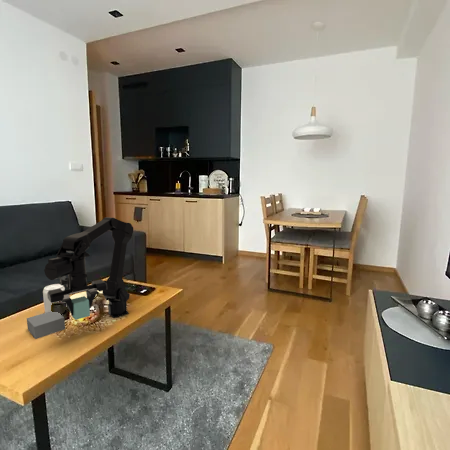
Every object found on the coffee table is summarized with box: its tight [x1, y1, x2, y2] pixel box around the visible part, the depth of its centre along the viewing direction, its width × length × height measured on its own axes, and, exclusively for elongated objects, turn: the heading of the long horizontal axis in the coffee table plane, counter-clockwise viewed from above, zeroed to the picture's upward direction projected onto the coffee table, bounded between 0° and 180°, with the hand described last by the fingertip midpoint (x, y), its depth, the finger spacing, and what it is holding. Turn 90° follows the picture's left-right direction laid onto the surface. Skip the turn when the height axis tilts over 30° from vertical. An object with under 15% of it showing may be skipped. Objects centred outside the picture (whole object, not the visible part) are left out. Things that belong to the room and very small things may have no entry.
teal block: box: [70, 296, 91, 321], centre depth 107 cm, size 5×5×6 cm
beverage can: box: [42, 283, 66, 313], centre depth 126 cm, size 8×8×12 cm
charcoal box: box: [26, 311, 66, 340], centre depth 113 cm, size 10×10×5 cm
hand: (80, 312), depth 108 cm, fingers closed on teal block, 5 cm apart
